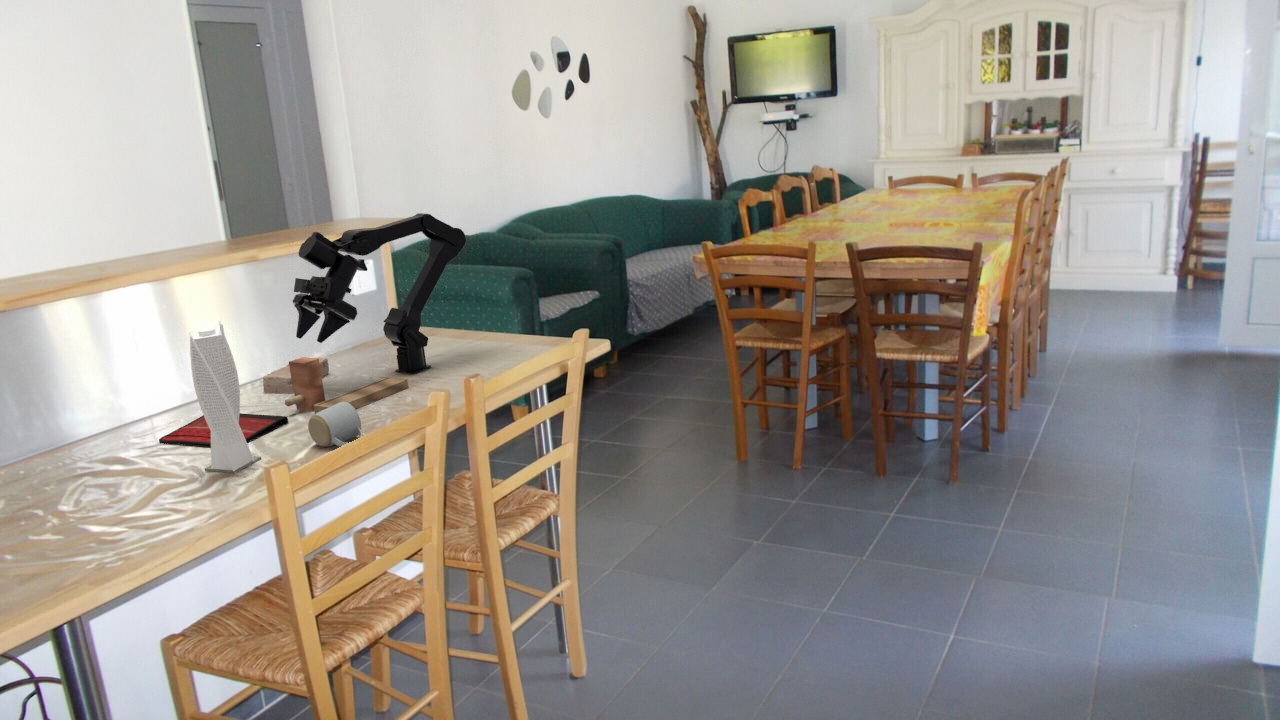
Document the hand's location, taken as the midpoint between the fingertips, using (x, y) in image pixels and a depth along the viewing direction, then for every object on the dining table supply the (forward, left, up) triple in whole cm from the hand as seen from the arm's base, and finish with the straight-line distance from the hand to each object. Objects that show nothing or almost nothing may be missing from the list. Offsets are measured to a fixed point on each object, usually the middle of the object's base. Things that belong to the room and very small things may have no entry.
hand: (308, 339), depth 212 cm
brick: (-7, -15, -14) cm, 22 cm away
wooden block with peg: (+8, +5, -14) cm, 17 cm away
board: (-2, +12, -14) cm, 19 cm away
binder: (+25, 0, -15) cm, 29 cm away
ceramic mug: (+20, +30, -14) cm, 39 cm away
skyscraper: (+37, +20, -14) cm, 44 cm away
